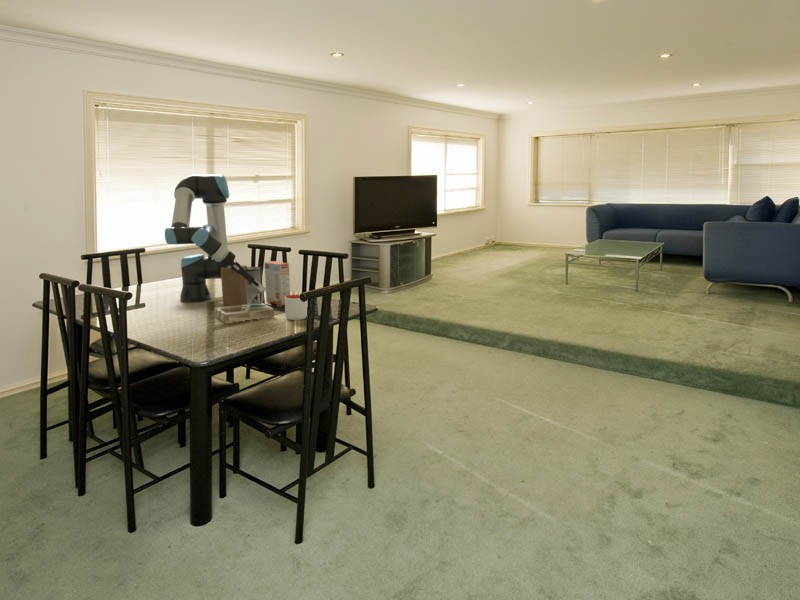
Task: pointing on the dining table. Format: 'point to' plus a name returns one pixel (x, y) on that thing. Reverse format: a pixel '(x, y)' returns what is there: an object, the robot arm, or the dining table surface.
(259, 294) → the coffee box
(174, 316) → the dining table surface
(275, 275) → the cracker box
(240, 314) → the hole board
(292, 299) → the cup
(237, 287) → the wooden block
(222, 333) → the dining table surface
